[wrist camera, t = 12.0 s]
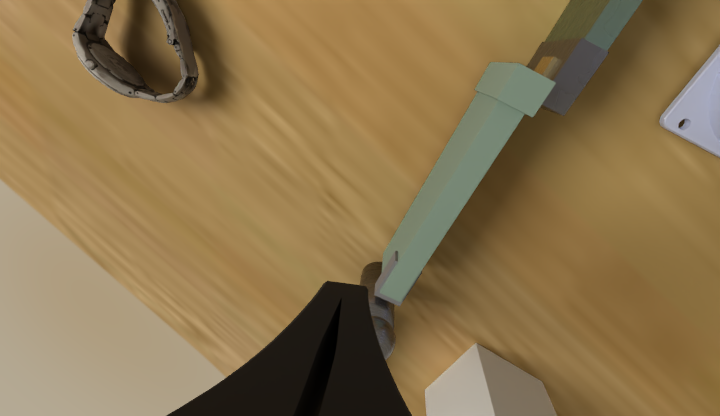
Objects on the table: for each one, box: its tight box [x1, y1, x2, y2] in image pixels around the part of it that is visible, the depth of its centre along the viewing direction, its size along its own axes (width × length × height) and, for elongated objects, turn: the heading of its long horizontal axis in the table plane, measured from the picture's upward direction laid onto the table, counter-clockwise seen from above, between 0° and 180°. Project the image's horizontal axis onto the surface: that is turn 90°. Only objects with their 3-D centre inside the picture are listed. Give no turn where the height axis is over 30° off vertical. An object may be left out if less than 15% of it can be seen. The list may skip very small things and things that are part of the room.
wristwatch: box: [72, 0, 199, 103], centre depth 17 cm, size 4×6×5 cm
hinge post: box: [360, 262, 395, 360], centre depth 22 cm, size 2×12×7 cm, turn 155°
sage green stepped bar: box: [374, 62, 556, 306], centre depth 17 cm, size 12×2×4 cm, turn 155°
